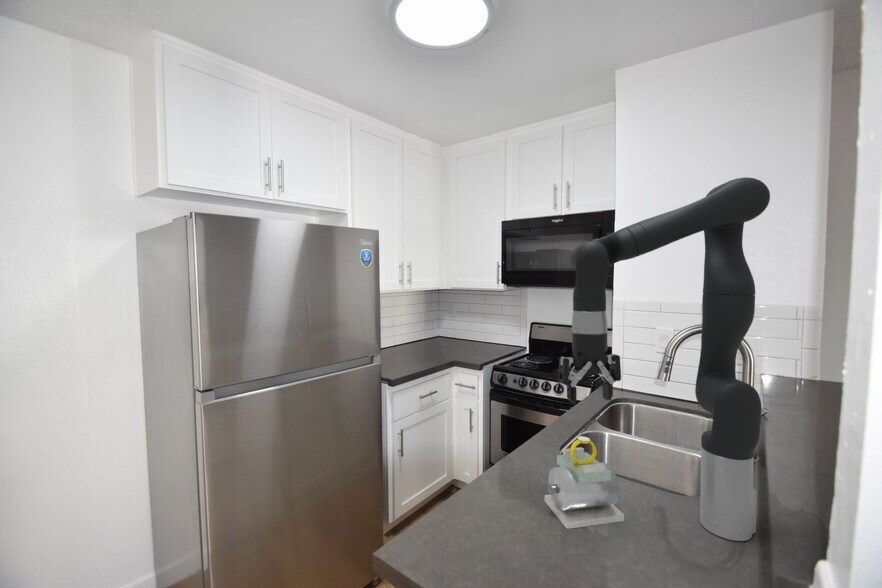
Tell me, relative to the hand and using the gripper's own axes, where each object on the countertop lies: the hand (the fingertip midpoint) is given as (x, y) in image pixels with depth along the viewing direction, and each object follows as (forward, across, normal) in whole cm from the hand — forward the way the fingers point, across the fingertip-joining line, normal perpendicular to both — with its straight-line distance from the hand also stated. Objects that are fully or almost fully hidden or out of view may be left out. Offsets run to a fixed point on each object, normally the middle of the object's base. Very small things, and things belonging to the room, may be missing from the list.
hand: (589, 400), depth 90 cm
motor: (+27, +1, -2) cm, 27 cm away
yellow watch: (+16, 0, -2) cm, 16 cm away
